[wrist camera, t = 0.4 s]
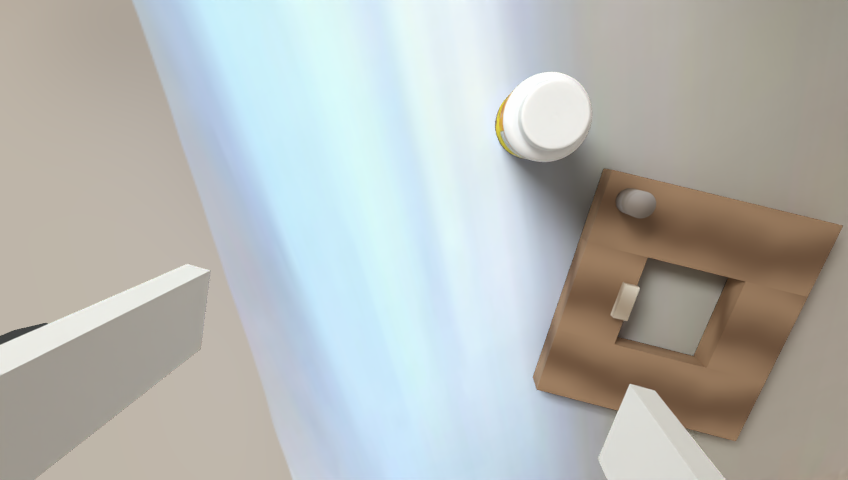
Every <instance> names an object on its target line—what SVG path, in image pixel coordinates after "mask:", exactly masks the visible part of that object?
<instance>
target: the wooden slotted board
mask: <svg viewBox="0 0 848 480" xmlns="http://www.w3.org/2000/svg"><path fill="white" fill-rule="evenodd" d="M842 227H843V226H842V225H838V224H834V223H830V222H826V221H822V220H818V219H813V218H809V217H805V216H801V215H797V214H793V213H789V212H784V211H780V210H776V209H772V208H768V207H764V206H760V205H756V204H751V203H747V202H743V201H739V200H735V199H731V198H727V197H722V196H718V195H714V194H710V193H706V192H702V191H698V190H694V189H689V188H685V187H681V186H677V185H673V184H669V183H665V182H660V181H656V180H652V179H648V178H644V177H640V176H636V175H632V174H627V173H623V172H619V171H615V170H610V169H603V172H602V175H601V178H600V181H599V184H598V187H597V189H596V192H595V195H594V198H593V201H592V204H591V207H590V210H589V213H588V216H587V219H586V222H585V225H584V228H583V231H582V234H581V237H580V240H579V243H578V245H577V248H576V251H575V254H574V257H573V260H572V263H571V266H570V269H569V272H568V275H567V278H566V281H565V284H564V287H563V290H562V293H561V296H560V299H559V302H558V304H557V307H556V310H555V313H554V316H553V319H552V322H551V325H550V328H549V331H548V334H547V337H546V340H545V343H544V346H543V349H542V352H541V355H540V358H539V361H538V363H537V366H536V369H535V372H534V375H533V379H534V382H535V386H536V389H537V390H541V391H545V392H548V393H552V394H556V395H560V396H564V397H568V398H571V399H575V400H579V401H583V402H587V403H591V404H595V405H598V406H602V407H606V408H610V409H614V410H619V408H620V405H621V403H622V401H623V398H624V396H625V394H626V391H627V389H628V387H629V384H633V385H636V386H640V387H644V388H647V389H651V390H655V391H656V393H657V394H658V395H659V396H660V398H661V399H662V400H663V401H664V403H665V404H666V405H667V406H668V408H669V409H670V410H671V411H672V413H673V414H674V415H675V416H676V418H677V419H678V420H679V421H680V423H681V424H682V425H683V426H684V428H687V429H691V430H695V431H699V432H702V433H706V434H710V435H714V436H718V437H722V438H725V439H729V440H733V441H736V440H737V438H738V436H739V434H740V432H741V430H742V428H743V426H744V424H745V422H746V420H747V418H748V416H749V414H750V412H751V410H752V408H753V406H754V404H755V402H756V400H757V398H758V396H759V394H760V392H761V390H762V388H763V386H764V384H765V382H766V380H767V378H768V376H769V374H770V372H771V370H772V368H773V366H774V364H775V362H776V360H777V358H778V356H779V354H780V352H781V350H782V348H783V346H784V344H785V342H786V340H787V338H788V336H789V334H790V332H791V329H792V327H793V325H794V323H795V321H796V319H797V317H798V315H799V313H800V311H801V309H802V307H803V305H804V303H805V301H806V299H807V297H808V295H809V293H810V291H811V289H812V287H813V285H814V283H815V281H816V279H817V277H818V275H819V273H820V271H821V269H822V267H823V265H824V263H825V261H826V259H827V257H828V255H829V253H830V251H831V249H832V247H833V245H834V243H835V241H836V239H837V237H838V235H839V233H840V231H841V229H842ZM648 257H649V258H653V259H657V260H661V261H665V262H669V263H673V264H677V265H681V266H685V267H689V268H693V269H697V270H701V271H705V272H709V273H713V274H717V275H721V276H725V277H728V279H727V282H726V284H725V286H724V288H723V291H722V293H721V295H720V297H719V300H718V302H717V304H716V306H715V309H714V311H713V313H712V316H711V318H710V320H709V322H708V325H707V327H706V329H705V331H704V334H703V336H702V338H701V340H700V343H699V345H698V347H697V350H696V352H695V354H694V356H691V355H687V354H683V353H679V352H675V351H671V350H667V349H663V348H660V347H656V346H652V345H648V344H644V343H640V342H636V341H632V340H628V339H624V338H620V337H617V336H618V334H619V331H620V328H621V326H622V323H623V321H624V320H625V321H628V318H629V315H630V313H631V310H632V308H633V305H634V303H635V300H636V297H637V295H638V292H639V290H640V288H639V287H638V286H637V284H638V282H639V279H640V276H641V274H642V271H643V269H644V266H645V264H646V261H647V258H648Z"/></svg>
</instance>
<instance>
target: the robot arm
mask: <svg viewBox="0 0 848 480" xmlns="http://www.w3.org/2000/svg"><path fill="white" fill-rule="evenodd" d="M210 272H211V271H210V270H207V269H204V268H200V267H196V266H192V265H189V264H186V265H184V266H181V267H179V268H177V269H174V270H172V271H170V272H167V273H165V274H163V275H160V276H158V277H156V278H153V279H151V280H149V281H147V282H144V283H142V284H140V285H137V286H135V287H133V288H130V289H128V290H126V291H124V292H121V293H119V294H117V295H114V296H112V297H110V298H107V299H105V300H103V301H101V302H98V303H96V304H93V305H91V306H89V307H87V308H84V309H82V310H79V311H77V312H75V313H73V314H70V315H68V316H66V317H63V318H61V319H59V320H56V321H54V322H52V323H49V324H48V323H43V324H39V325H35V326H31V327H26V328H22V329H17V330H14V331H11V332H9V333H6V334H4V335H1V336H0V480H34V479H36V478H37V477H38V476H40V475H41V474H42V473H43V472H45V471H46V470H47V469H48V468H50V467H51V466H52V465H54V464H55V463H56V462H57V461H59V460H60V459H61V458H62V457H64V456H65V455H66V454H68V453H69V452H70V451H71V450H73V449H74V448H75V447H76V446H78V445H79V444H80V443H81V442H83V441H84V440H85V439H87V438H88V437H89V436H90V435H92V434H93V433H94V432H96V431H97V430H98V429H99V428H101V427H102V426H103V425H104V424H106V423H107V422H108V421H110V420H111V419H112V418H113V417H115V416H116V415H117V414H119V413H120V412H121V411H122V410H124V409H125V408H126V407H128V406H129V405H130V404H131V403H133V402H134V401H135V400H136V399H138V398H139V397H140V396H141V395H143V394H144V393H145V392H147V391H148V390H149V389H150V388H152V387H153V386H154V385H156V384H157V383H158V382H159V381H161V380H162V379H163V378H164V377H166V376H167V375H168V374H170V373H171V372H172V371H173V370H175V369H176V368H177V367H178V366H180V365H181V364H182V363H184V362H185V361H186V360H187V359H189V358H190V357H191V356H192V355H194V354H195V353H196V352H198V351H199V350H200V349H201V343H202V334H203V326H204V319H205V311H206V303H207V295H208V287H209V279H210ZM598 460H599V462H600V465H601V467H602V469H603V471H604V474H605V476H606V478H607V480H726V479H725V478H724V477H723V475H722V474H721V473H720V472H719V470H718V469H717V468H716V467H715V465H714V464H713V463H712V462H711V460H710V459H709V458H708V457H707V455H706V454H705V453H704V452H703V450H702V449H701V448H700V447H699V445H698V444H697V443H696V442H695V440H694V439H693V438H692V437H691V435H690V434H689V433H688V431H687V430H686V429H685V428H684V426H683V425H682V424H681V423H680V421H679V420H678V419H677V418H676V416H675V415H674V414H673V413H672V411H671V410H670V409H669V408H668V406H667V405H666V404H665V403H664V401H663V400H662V399H661V398H660V396H659V395H658V394H657V393H656V391H655V390H651V389H647V388H644V387H640V386H636V385H633V384H629V387H628V389H627V391H626V394H625V396H624V398H623V401H622V403H621V405H620V408H619V410H618V413H617V415H616V417H615V420H614V422H613V424H612V427H611V429H610V431H609V434H608V436H607V438H606V441H605V443H604V446H603V448H602V450H601V453H600V455H599V457H598Z"/></svg>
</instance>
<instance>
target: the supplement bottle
mask: <svg viewBox="0 0 848 480" xmlns="http://www.w3.org/2000/svg"><path fill="white" fill-rule="evenodd" d="M591 121H592V105H591V101H590V98H589V96H588V94H587V92H586V90H585V89H584V88H583V86H582V85H581V84H580V83H579V82H578V81H577V80H575V79H574V78H572V77H570V76H568V75H566V74H563V73H558V72H544V73H539V74H536V75H534V76H531V77H529V78H528V79H526V80H524V81H523V82H522V83H520V84H519V85H518V86H517V87H516V88H515V89H514V90H513V91H512V93H511V94H510V95H509V96H508V97H507V98H506V99H505V100H504V102H503V103H502V105H501V106H500V108H499V110H498V113H497V116H496V121H495V130H496V135H497V138H498V140H499V142H500V144H501V145H502V147H503V148H504V149H505V150H506V151H508V152H509V153H510V154H512V155H514V156H516V157H519V158H523V159H527V160H532V161H536V162H551V161H556V160H559V159H562V158H564V157H566V156H568V155H570V154H571V153H572V152H574V151H575V150H576V149H577V148H578V147H579V146H580V145H581V144H582V142H583V141H584V139H585V138H586V136H587V134H588V132H589V129H590V126H591Z"/></svg>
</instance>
